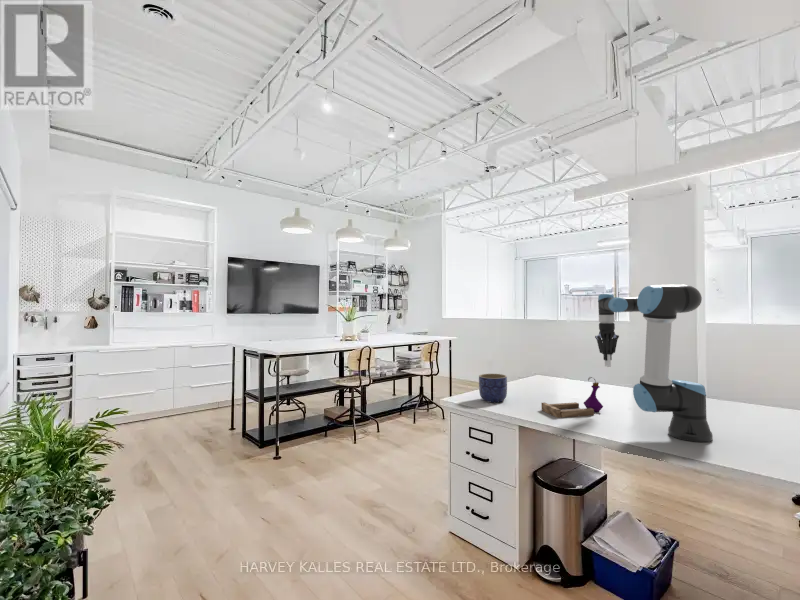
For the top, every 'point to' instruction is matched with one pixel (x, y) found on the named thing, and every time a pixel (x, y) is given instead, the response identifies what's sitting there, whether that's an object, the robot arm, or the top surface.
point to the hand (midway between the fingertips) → (607, 366)
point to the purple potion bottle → (593, 398)
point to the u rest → (566, 410)
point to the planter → (493, 387)
